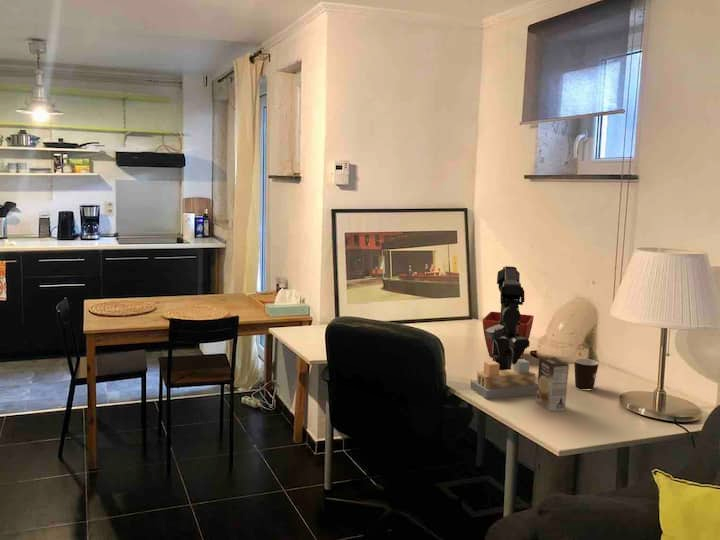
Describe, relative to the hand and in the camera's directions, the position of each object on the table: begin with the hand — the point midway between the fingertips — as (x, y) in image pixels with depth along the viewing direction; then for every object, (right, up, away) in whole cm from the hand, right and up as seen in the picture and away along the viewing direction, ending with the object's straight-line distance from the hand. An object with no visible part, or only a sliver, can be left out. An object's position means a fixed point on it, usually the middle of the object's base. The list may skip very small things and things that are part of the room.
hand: (507, 360), depth 246 cm
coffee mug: (+32, -11, +9) cm, 35 cm away
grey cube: (+6, -4, +3) cm, 8 cm away
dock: (0, -11, +2) cm, 12 cm away
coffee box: (+12, -14, -13) cm, 23 cm away
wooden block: (0, -8, +1) cm, 9 cm away
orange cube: (-6, -5, -1) cm, 8 cm away
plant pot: (+11, -5, +51) cm, 53 cm away
